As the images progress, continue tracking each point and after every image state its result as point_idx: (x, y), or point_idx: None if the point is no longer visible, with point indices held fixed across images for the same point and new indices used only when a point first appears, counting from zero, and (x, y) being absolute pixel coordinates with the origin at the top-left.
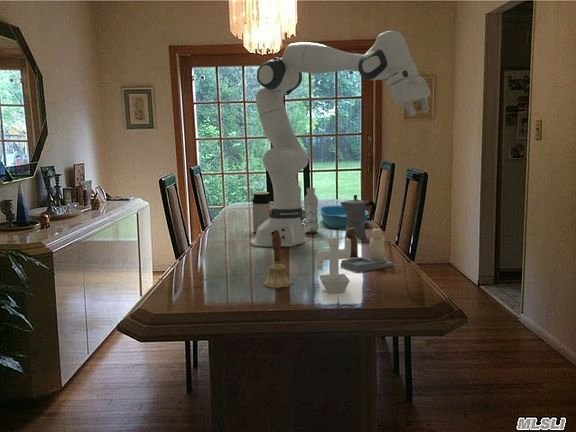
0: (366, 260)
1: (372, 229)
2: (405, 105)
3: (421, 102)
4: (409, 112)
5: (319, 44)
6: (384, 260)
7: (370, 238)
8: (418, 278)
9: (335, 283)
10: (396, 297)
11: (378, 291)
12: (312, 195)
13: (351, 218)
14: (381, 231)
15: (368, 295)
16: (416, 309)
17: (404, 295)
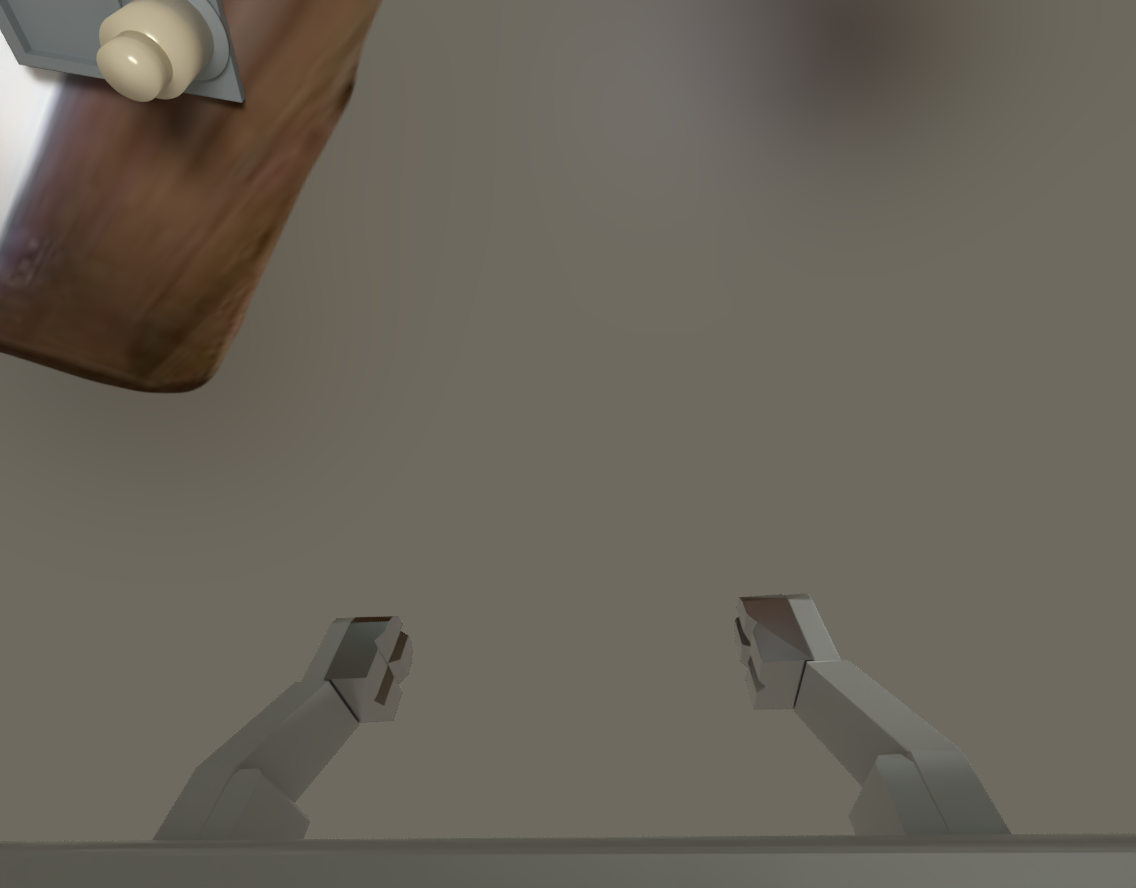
0: (110, 8)
1: (97, 55)
2: (193, 810)
3: (871, 772)
4: (312, 666)
5: None
6: (204, 74)
7: (103, 31)
8: (247, 256)
9: None
10: (97, 323)
11: (59, 270)
12: None
13: None
14: (157, 94)
15: (12, 278)
16: (114, 383)
17: (127, 324)
